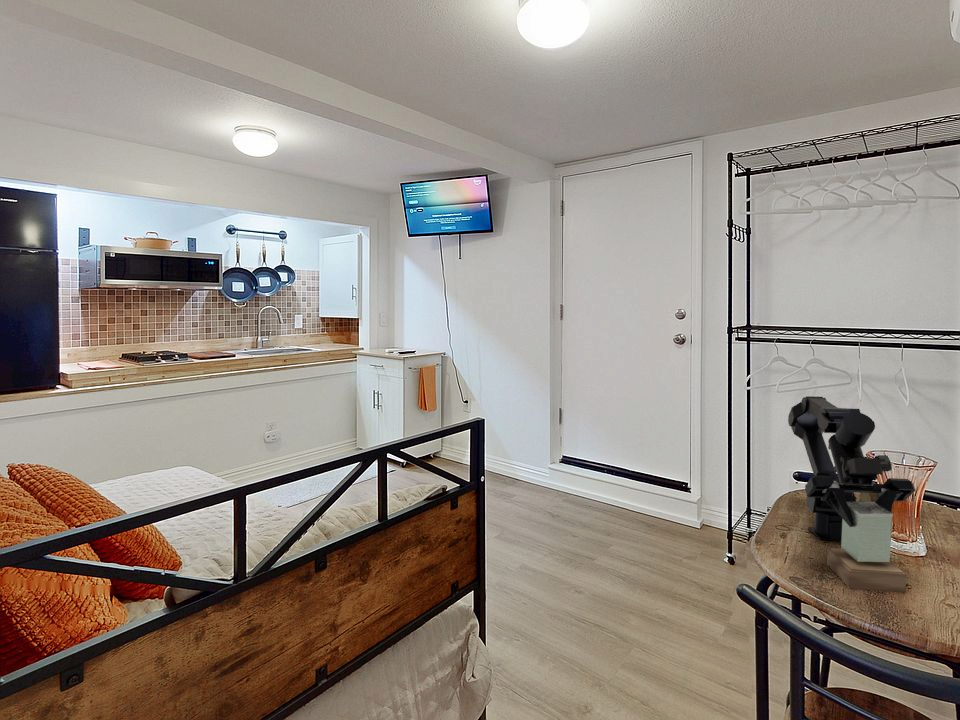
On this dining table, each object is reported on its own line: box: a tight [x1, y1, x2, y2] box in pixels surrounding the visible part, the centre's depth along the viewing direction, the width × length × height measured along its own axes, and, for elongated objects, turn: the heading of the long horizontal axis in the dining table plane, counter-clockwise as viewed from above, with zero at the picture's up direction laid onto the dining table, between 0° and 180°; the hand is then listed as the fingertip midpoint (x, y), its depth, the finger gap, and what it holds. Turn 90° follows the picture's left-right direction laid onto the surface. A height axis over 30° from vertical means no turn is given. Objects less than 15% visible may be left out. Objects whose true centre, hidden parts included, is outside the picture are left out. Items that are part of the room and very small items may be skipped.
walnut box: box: [826, 547, 907, 593], centre depth 111 cm, size 10×10×4 cm
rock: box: [858, 481, 878, 502], centre depth 140 cm, size 11×9×10 cm
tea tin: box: [840, 501, 894, 562], centre depth 110 cm, size 6×6×10 cm
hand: (869, 527), depth 109 cm, fingers closed on tea tin, 6 cm apart
